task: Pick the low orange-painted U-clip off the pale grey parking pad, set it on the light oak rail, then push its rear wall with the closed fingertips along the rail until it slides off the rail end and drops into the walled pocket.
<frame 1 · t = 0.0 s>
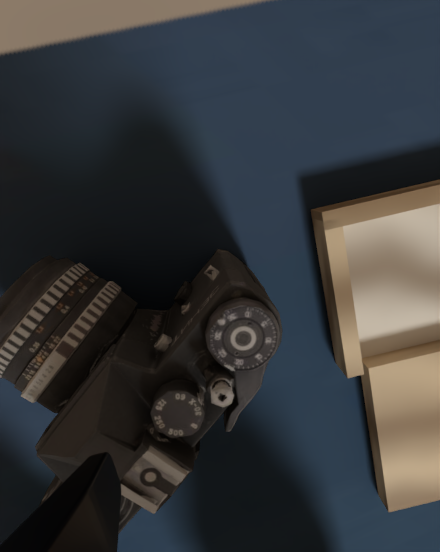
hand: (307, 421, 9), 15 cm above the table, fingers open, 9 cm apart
camera: (129, 318, 23), on the table
rail: (412, 358, 25), on the table
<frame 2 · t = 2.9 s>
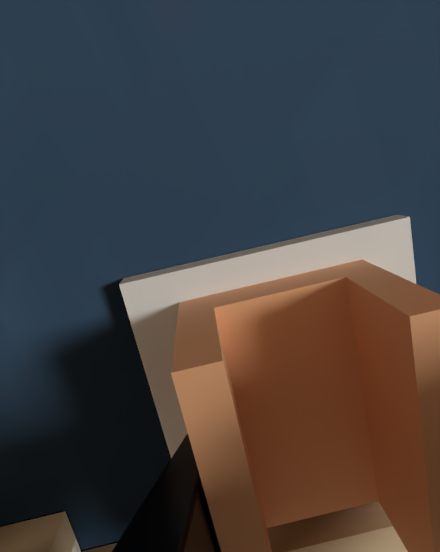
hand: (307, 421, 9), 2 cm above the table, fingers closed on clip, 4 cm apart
pad: (286, 378, 10), on the table
clip: (292, 390, 10), point 1 cm above the table, touching gripper, pad
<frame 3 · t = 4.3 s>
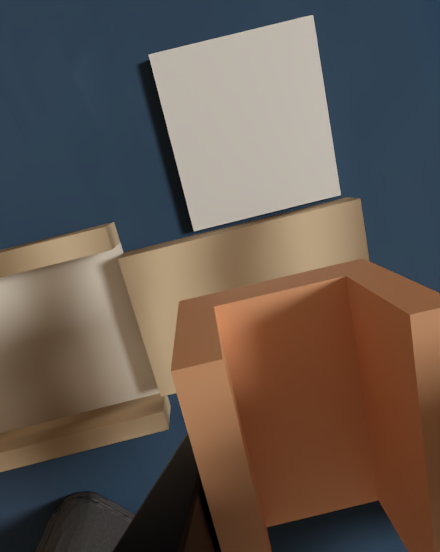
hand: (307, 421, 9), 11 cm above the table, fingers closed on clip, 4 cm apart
pad: (248, 130, 17), on the table
rail: (163, 314, 19), on the table
clip: (292, 389, 10), point 10 cm above the table, touching gripper
when the fingers open (3 cm above the table, at t = 5.7 s): clip stays where it is, resting on rail.
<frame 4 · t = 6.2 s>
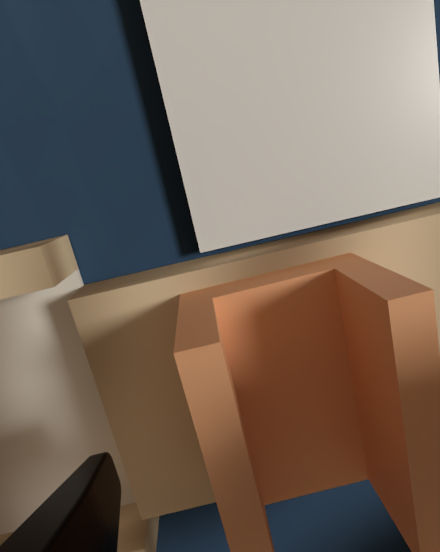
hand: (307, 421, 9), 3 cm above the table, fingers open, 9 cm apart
pad: (295, 83, 10), on the table
rail: (149, 383, 12), on the table
clip: (287, 376, 11), point 1 cm above the table, touching rail
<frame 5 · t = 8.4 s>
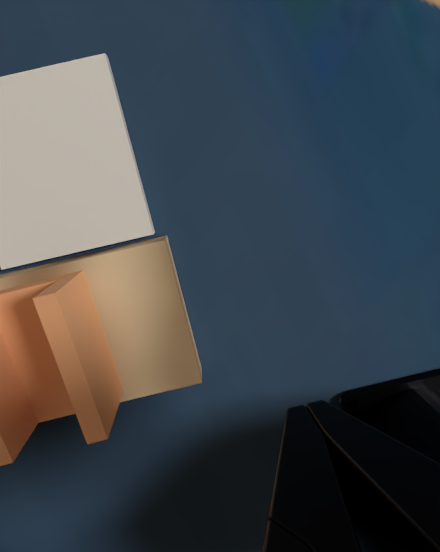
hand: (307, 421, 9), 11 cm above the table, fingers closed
pad: (55, 167, 17), on the table
clip: (55, 345, 17), point 1 cm above the table, touching rail
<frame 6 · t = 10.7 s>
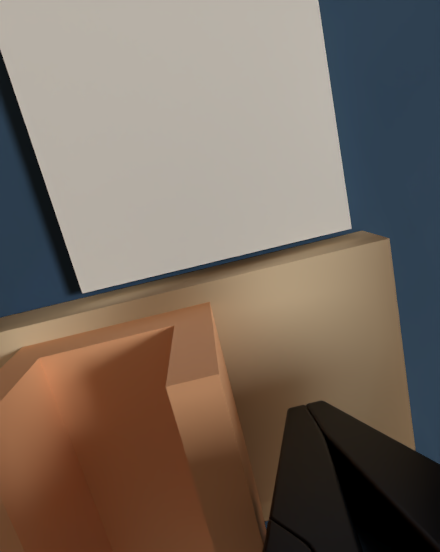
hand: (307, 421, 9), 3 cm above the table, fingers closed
pad: (180, 109, 9), on the table
rail: (44, 428, 11), on the table
clip: (150, 432, 10), point 2 cm above the table, touching gripper, rail
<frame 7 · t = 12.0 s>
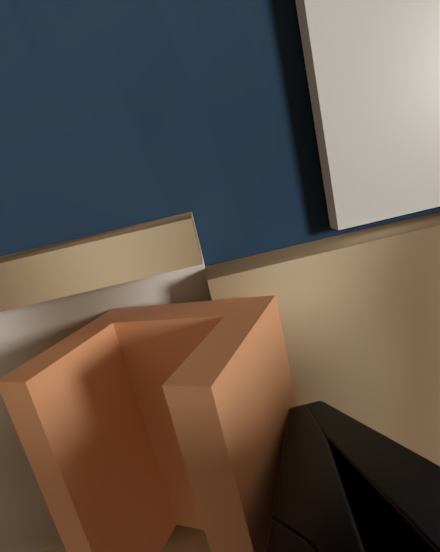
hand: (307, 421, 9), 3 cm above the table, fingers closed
rail: (266, 373, 11), on the table
clip: (213, 409, 10), point 1 cm above the table, tilted 27°, touching gripper, rail
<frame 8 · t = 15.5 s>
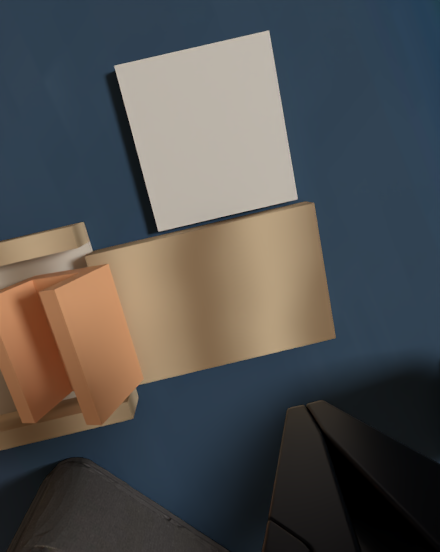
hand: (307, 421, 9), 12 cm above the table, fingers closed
pad: (210, 137, 18), on the table
rail: (131, 310, 20), on the table
clip: (89, 327, 19), point 1 cm above the table, tilted 23°, touching rail
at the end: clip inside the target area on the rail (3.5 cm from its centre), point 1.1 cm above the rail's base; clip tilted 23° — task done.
